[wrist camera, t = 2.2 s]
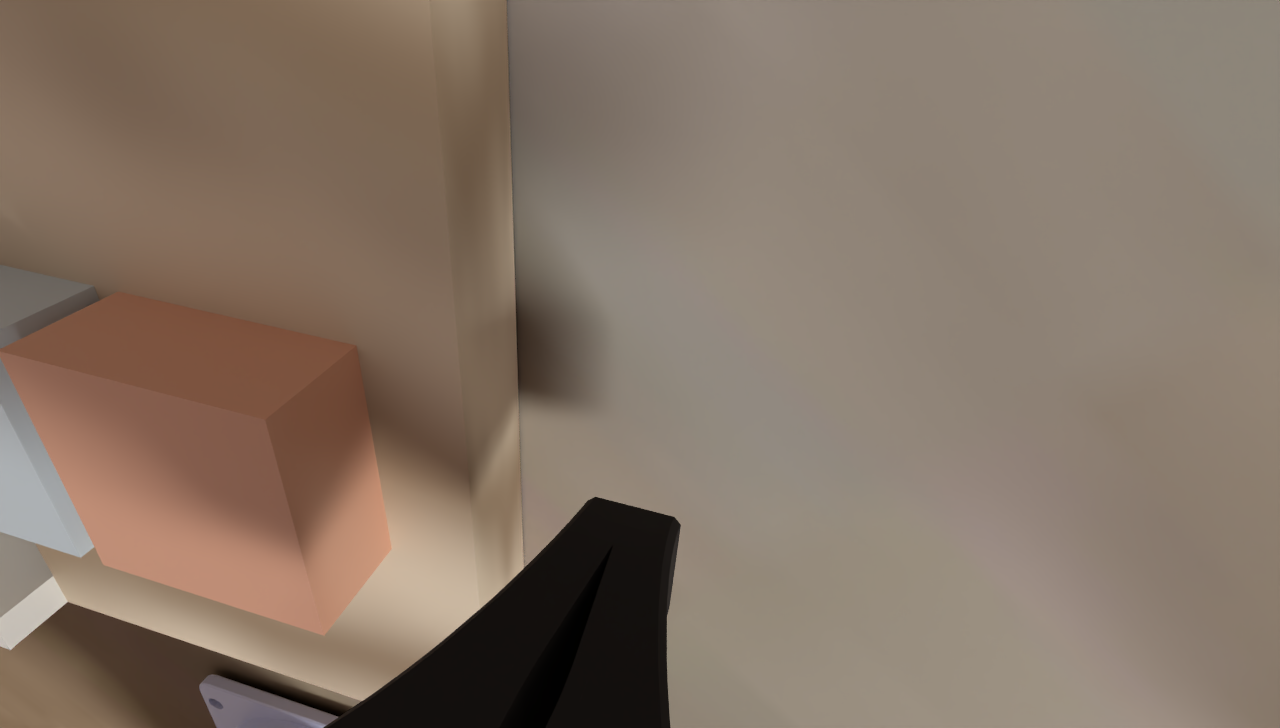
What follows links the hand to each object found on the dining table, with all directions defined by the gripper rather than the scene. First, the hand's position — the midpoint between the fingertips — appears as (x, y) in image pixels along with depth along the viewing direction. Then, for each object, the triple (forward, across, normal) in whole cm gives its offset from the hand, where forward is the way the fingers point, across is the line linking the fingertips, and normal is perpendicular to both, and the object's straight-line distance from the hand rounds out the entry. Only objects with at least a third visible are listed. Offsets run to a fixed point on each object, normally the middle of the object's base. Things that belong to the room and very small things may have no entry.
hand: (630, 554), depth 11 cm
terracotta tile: (+1, +7, 0) cm, 7 cm away
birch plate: (+3, +9, 0) cm, 9 cm away
